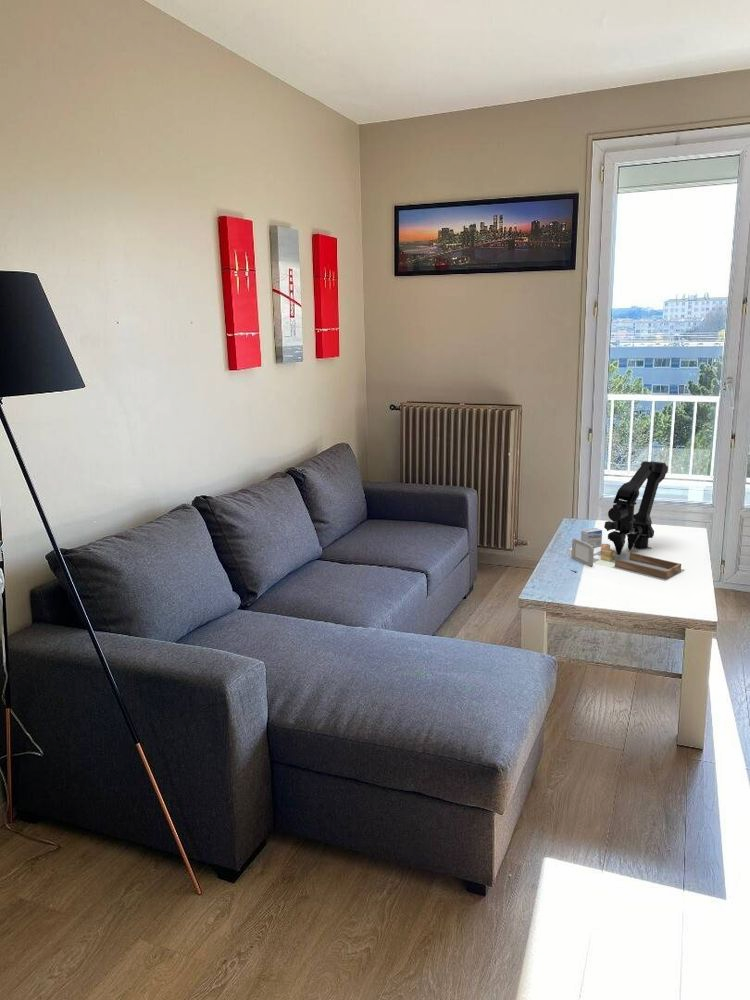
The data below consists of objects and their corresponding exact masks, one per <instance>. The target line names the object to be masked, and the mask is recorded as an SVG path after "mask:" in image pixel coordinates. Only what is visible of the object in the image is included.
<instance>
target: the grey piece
mask: <svg viewBox="0 0 750 1000" xmlns="http://www.w3.org/2000/svg"><path fill="white" fill-rule="evenodd" d="M571 547H572V550H571V551H572V556H571V558H573V560H576V561H578V562H579V563H582V564H584V565H586V566H589V567H593V566H594V563H593V558H594V556H593V555H594V554H595V553H594V552H595V548H593V546H592V545H590V544H587V543H585V542H583V541H581V539H578V538H573V539H572V541H571ZM570 571H571V572H573V573H578V571H577V570H572V569H570Z"/></svg>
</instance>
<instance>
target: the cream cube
mask: <svg viewBox="0 0 750 1000" xmlns="http://www.w3.org/2000/svg"><path fill="white" fill-rule="evenodd" d="M571 550H572V546H571V547H569V549H568V556H572V551H571Z"/></svg>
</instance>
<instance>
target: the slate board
mask: <svg viewBox="0 0 750 1000" xmlns="http://www.w3.org/2000/svg"><path fill="white" fill-rule="evenodd" d="M595 556H599V557H601V550H600V551H598V552H595V553H594V555H593V564H595V565H599V566H604V567H607V568H611V569H616V570H620V571H623V572H626V573H627V572H628V573H631V574H636V575H638V576H643V577H648V578H651V579H654V580H655V579H656V580H659V581H664V582H667V581H669V580H670V579H672V578H674V577H676V576H677V575H680V574H681V573H682V572H685V571H686V569H684V568H683V569H682V568H681V571H680V572H678V573H677V574H675V575H673V576H671V577H669V578H668V579H662V578H658V577H654V576H650V575H646V574H642V573H638V572H634V571H630V570H626V569H622V568H618V567H615V560H616V559H617V560H621V561H626V562H630V563H634V564H638V565H642V566H646V567H651V568H655V569H659V570H663V571H666V570H668V569H666V568H662V567H658V566H653V565H649V564H645V563H641V562H636V561H632V560H629V558H630V556H627V555H623V554H620V555H618V554H617V553H615V559H614V560H612V561H610V562H609V561H605V560H601V558H595Z"/></svg>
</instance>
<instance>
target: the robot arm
mask: <svg viewBox="0 0 750 1000" xmlns="http://www.w3.org/2000/svg"><path fill="white" fill-rule="evenodd" d="M668 471H669V467H668V465H667V464H666V463H665V462H660V461H652V460H651V461H648V460H647V461H646V460H644V461H642V462H641V464H640V467H639V468H638V469H637V471H636V472H635V473H634V475H633V476H632V477H631V479H630V480H629V481H627V482H625V483H623V484H622V485H621V486H620V487H619V489H618V490H617V492H616V494H615V497H614V500H613V503H612V504H613V505H612V507H611V508H610V509H609V510H608V512H607V515H608V518H609V519H610V520H611V521H610V520H608V521H605V522H604V524H603V525H604V526H603V528H604V529H605V530H606V531H607V532H609V531H610V532H609V533H608V534H607V539H608V540H609V541H610V542H612V543H613V545H614V548H615V553H616V554H618V555H622V551H623V548H624V546H625V544H626V538H627V549H628V551H629V550H630V551H631V550H632V549H637V550H642V549H644V550H645V549H651V546H650V547H649V539H653V538H654V535H655V530H654V528H653V527H652V518H651V512H652V508H653V505H654V502H655V497H656V495H657V491H658V487H659V484H660V483H661V482H662V481H663V480H664V479H665V478H666V475H667V474H668ZM645 482H646V483H645ZM644 483H645V484H646V485H645V487H644V491H643V494H642V498H641V502H640V505H639V508H638V511H637V513H635V506H636V505H637V500H638V498H639V495H640V489H641V487H642V485H643V484H644ZM613 530H614V531H613Z"/></svg>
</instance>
